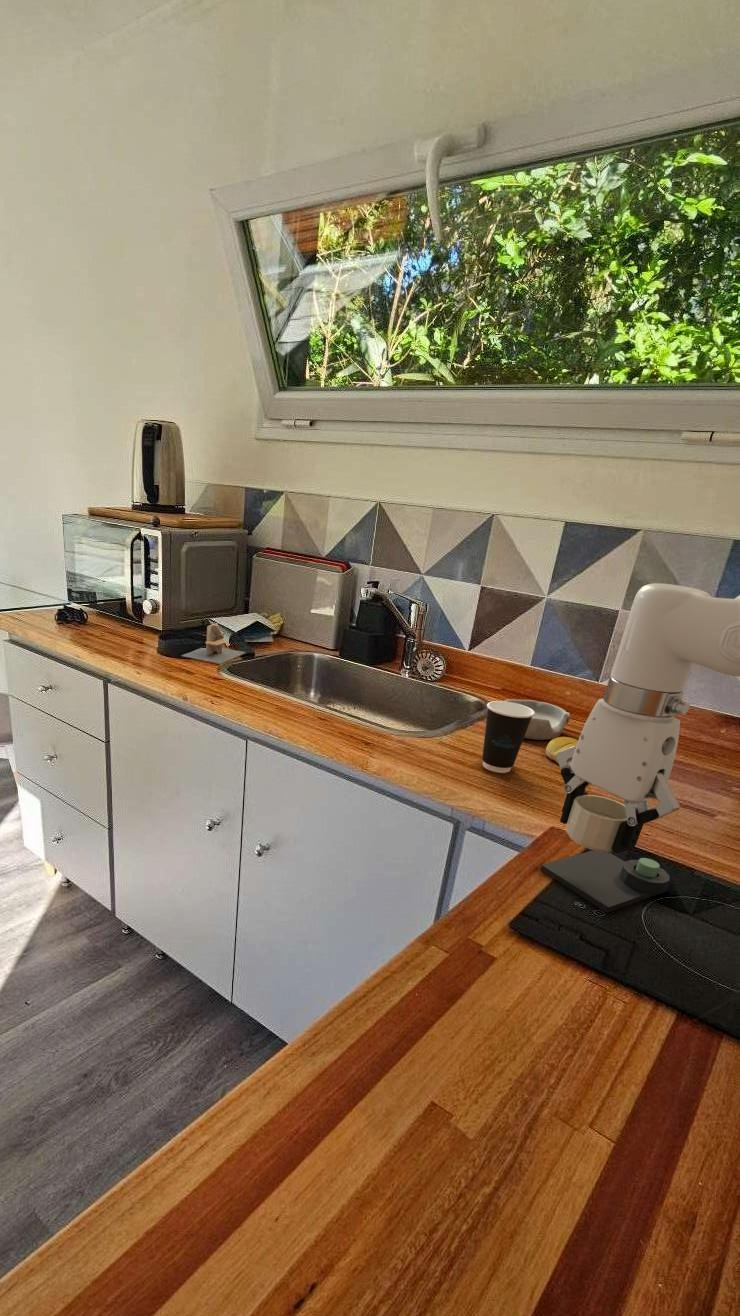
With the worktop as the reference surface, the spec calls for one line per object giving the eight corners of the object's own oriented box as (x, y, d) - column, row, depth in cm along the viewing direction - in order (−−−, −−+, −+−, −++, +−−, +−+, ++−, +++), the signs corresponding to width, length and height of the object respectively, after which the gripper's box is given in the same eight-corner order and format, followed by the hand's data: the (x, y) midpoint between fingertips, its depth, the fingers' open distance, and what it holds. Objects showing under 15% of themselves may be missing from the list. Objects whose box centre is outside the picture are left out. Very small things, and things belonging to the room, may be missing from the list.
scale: (599, 853, 92) (604, 837, 91) (672, 894, 84) (678, 877, 83) (539, 870, 86) (544, 854, 85) (611, 916, 78) (617, 898, 77)
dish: (567, 730, 141) (574, 708, 139) (555, 748, 130) (561, 724, 128) (500, 714, 147) (505, 692, 145) (482, 729, 136) (487, 706, 134)
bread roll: (570, 750, 130) (575, 731, 128) (601, 768, 122) (608, 748, 120) (534, 751, 127) (539, 731, 126) (564, 770, 119) (570, 749, 118)
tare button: (642, 866, 85) (646, 856, 84) (660, 876, 83) (664, 865, 82) (631, 870, 84) (635, 859, 83) (648, 880, 82) (652, 869, 81)
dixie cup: (489, 777, 113) (504, 716, 108) (465, 759, 120) (478, 700, 115) (528, 775, 115) (544, 715, 111) (502, 757, 122) (516, 700, 118)
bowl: (587, 823, 87) (598, 791, 85) (634, 848, 82) (646, 815, 80) (553, 831, 84) (562, 799, 82) (598, 858, 79) (610, 824, 77)
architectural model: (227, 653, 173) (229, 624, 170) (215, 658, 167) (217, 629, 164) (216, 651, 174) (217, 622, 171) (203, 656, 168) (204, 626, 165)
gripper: (735, 721, 70) (677, 865, 78) (596, 674, 84) (558, 801, 91) (695, 728, 67) (638, 878, 74) (556, 678, 80) (520, 809, 87)
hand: (594, 834), depth 83 cm, fingers closed on bowl, 6 cm apart
